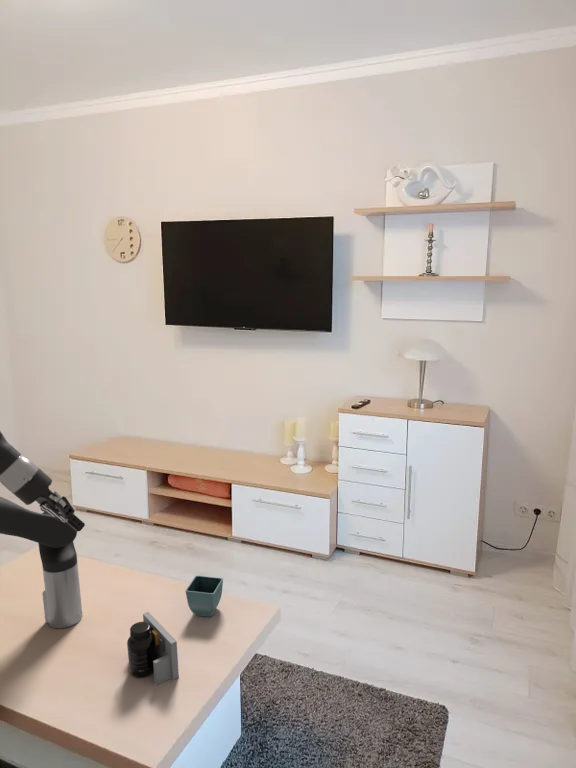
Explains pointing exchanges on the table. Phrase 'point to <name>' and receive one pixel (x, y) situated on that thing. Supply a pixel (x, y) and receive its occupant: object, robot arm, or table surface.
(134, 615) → the table surface
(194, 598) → the flower pot
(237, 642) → the table surface
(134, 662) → the supplement bottle
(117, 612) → the table surface
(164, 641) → the panel
